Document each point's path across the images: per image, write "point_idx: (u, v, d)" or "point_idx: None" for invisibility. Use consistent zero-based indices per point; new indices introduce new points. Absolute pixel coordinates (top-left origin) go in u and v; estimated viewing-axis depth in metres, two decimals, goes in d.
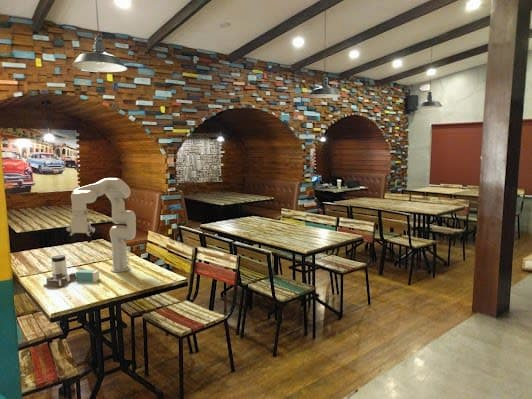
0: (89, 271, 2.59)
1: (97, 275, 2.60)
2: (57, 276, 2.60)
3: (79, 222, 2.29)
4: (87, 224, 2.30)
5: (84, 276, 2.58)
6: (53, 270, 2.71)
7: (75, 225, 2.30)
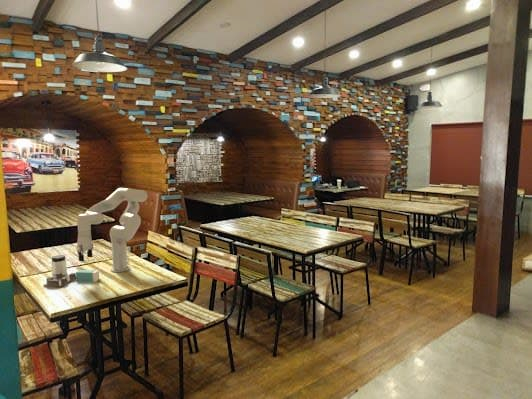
0: (89, 271, 2.59)
1: (97, 275, 2.60)
2: (57, 276, 2.60)
3: (89, 240, 2.57)
4: None
5: (84, 276, 2.58)
6: (53, 270, 2.71)
7: (87, 243, 2.55)
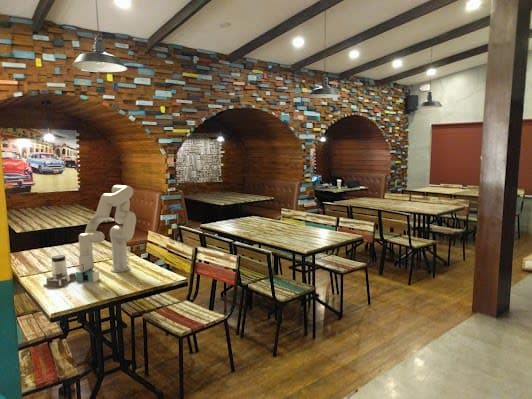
0: (89, 271, 2.59)
1: (97, 275, 2.60)
2: (57, 276, 2.60)
3: (91, 259, 2.59)
4: None
5: None
6: (53, 270, 2.71)
7: (88, 263, 2.57)
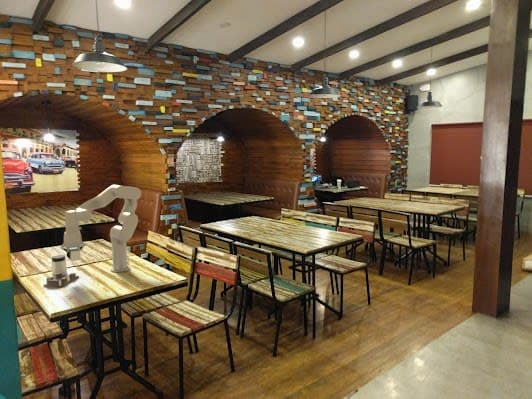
0: (73, 249, 2.54)
1: (76, 255, 2.51)
2: (57, 276, 2.60)
3: (75, 237, 2.53)
4: None
5: None
6: (53, 270, 2.71)
7: (70, 241, 2.52)
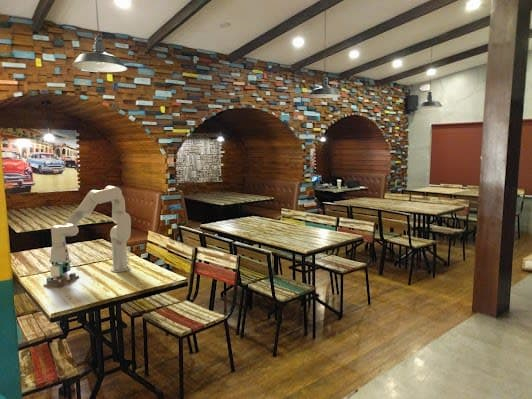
0: (58, 264, 2.54)
1: (54, 271, 2.49)
2: (57, 276, 2.60)
3: (58, 253, 2.52)
4: (65, 254, 2.53)
5: None
6: None
7: (54, 255, 2.52)
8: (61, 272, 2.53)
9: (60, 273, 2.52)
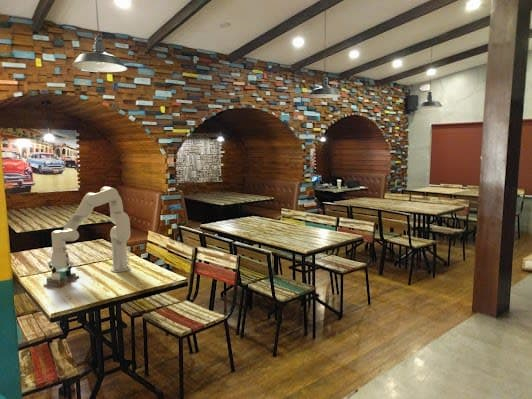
0: (59, 271, 2.55)
1: (55, 278, 2.50)
2: None
3: (58, 258, 2.52)
4: (66, 259, 2.54)
5: None
6: None
7: (55, 260, 2.53)
8: None
9: None
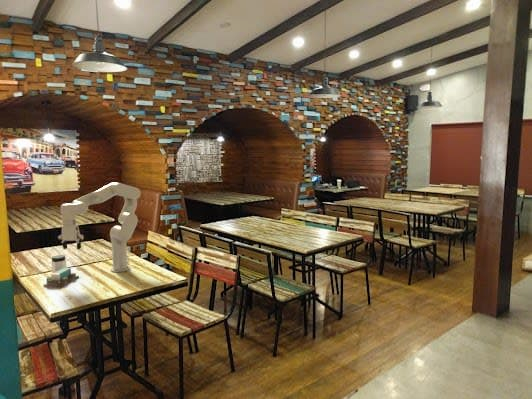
0: (59, 271, 2.55)
1: (55, 278, 2.50)
2: None
3: (69, 231, 2.52)
4: (76, 232, 2.53)
5: None
6: (53, 270, 2.71)
7: (65, 234, 2.53)
8: None
9: None
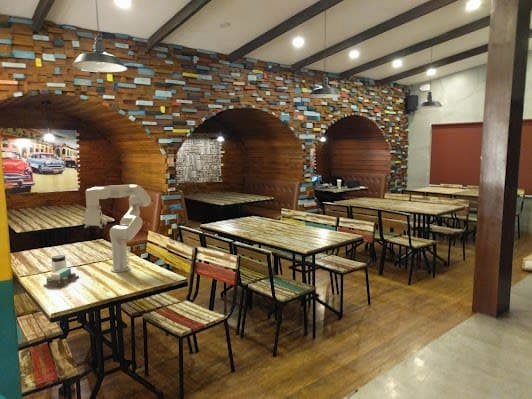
0: (59, 271, 2.55)
1: (55, 278, 2.50)
2: None
3: (92, 216, 2.54)
4: (100, 217, 2.56)
5: None
6: (53, 270, 2.71)
7: (89, 218, 2.55)
8: None
9: None
